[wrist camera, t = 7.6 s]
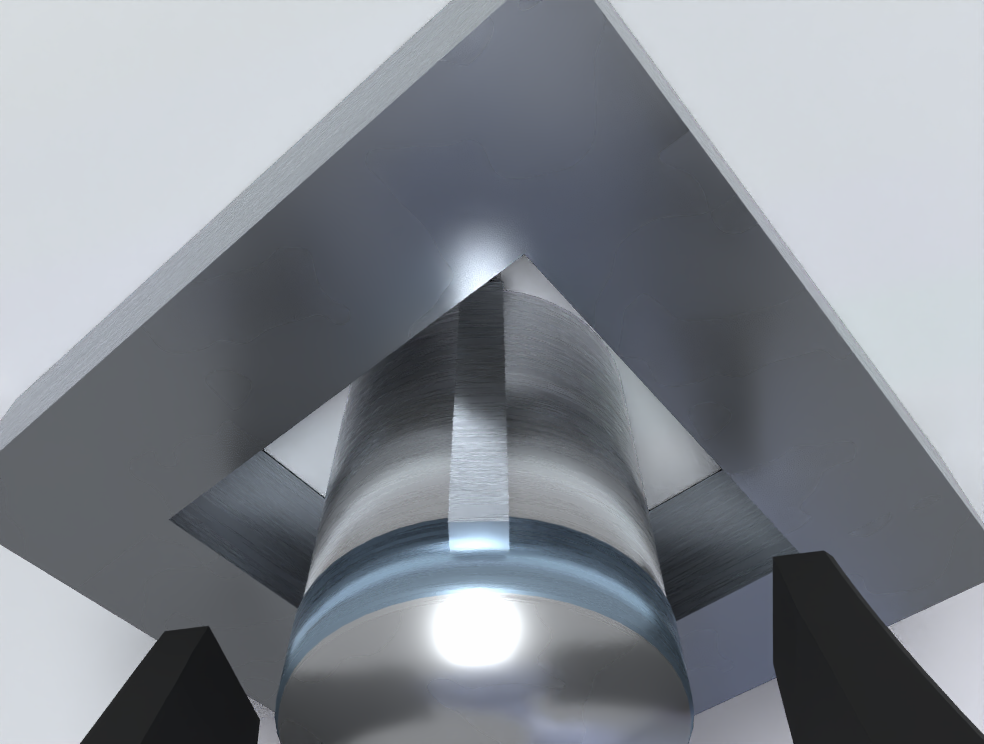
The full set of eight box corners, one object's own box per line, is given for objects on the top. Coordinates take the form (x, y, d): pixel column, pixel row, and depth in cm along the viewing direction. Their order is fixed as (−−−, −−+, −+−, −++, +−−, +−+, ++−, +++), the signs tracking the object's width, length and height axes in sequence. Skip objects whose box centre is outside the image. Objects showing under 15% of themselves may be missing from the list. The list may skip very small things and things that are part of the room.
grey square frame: (461, 710, 19) (457, 824, 17) (16, 400, 15) (-63, 506, 12) (942, 459, 15) (1012, 569, 13) (545, -86, 10) (559, -46, 8)
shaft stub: (616, 508, 16) (673, 844, 11) (361, 512, 16) (305, 849, 11) (637, 259, 13) (727, 562, 8) (326, 265, 13) (229, 571, 8)
